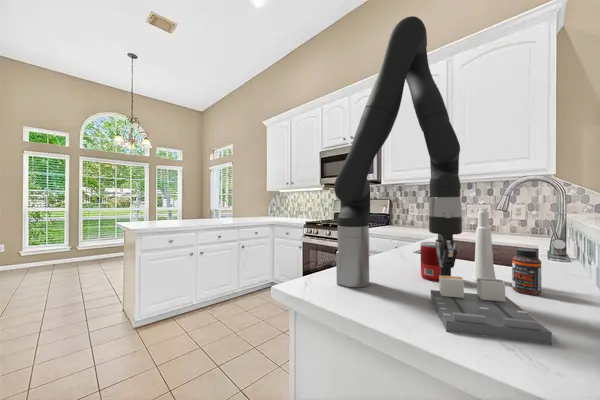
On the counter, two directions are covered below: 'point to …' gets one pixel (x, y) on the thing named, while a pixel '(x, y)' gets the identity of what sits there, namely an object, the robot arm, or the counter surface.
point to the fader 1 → (451, 286)
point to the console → (488, 318)
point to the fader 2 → (491, 289)
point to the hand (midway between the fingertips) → (445, 281)
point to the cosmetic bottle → (483, 248)
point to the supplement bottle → (526, 272)
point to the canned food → (429, 262)
